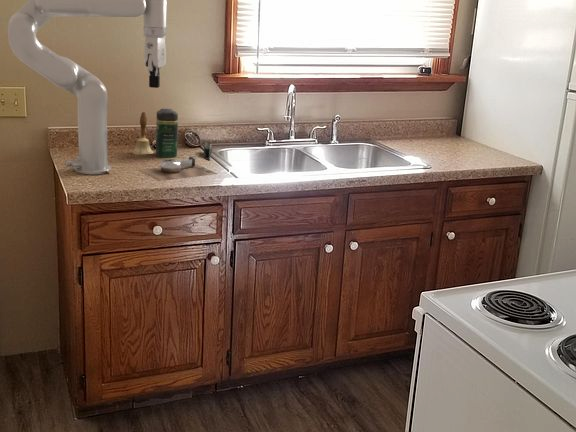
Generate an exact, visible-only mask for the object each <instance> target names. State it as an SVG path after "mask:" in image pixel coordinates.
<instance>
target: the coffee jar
mask: <svg viewBox="0 0 576 432" xmlns="http://www.w3.org/2000/svg"><path fill="white" fill-rule="evenodd" d="M178 115H179V114H178V112H176V111H175V110H173V109H172V108H161V109H159V110H157V112H156V125H155V126H156V131H155V132H156V134H155V135H156V136H155V137H156V139H155V141H156V143H155V155H156V157H158V158H161V159H163V158H164V159H168V158H169V159H174V158H177V157H178V133H179V130H178V128H179V120H178V119H179V118H178V117H179V116H178Z"/></svg>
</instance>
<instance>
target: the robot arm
mask: <svg viewBox="0 0 576 432" xmlns="http://www.w3.org/2000/svg"><path fill="white" fill-rule="evenodd" d="M141 16H143V20H142V21H143V27H142V29H143V33H142V35H143V37H144V38H145V40H144V53H143V54H144V55H143V57H144V58H143V60H144V62H143V63H144V66H145V67H147V71H148V86H149V88H153V89H154V88H155V89H158V88H160V86H161V85H160V82H161V81H160V75H161V68H163V67H165V66H166V65H167V52H166V51H167V50H166V49H167V46H166V38H167V0H28V1H27V2H25V3H24V4H23V5H22V6H21V7H20V8H19V9H18V10H17V11H16V12H14V13H13V14H12V15H11V17H10V19H9V21H8V26H7V27H8V28H7V35H8V36H7V38H8V44H9V47H10V49H11V51H12V53H13V55H14V56H16V58H17V59H18V60H19V61H20V62H21V63H23V64H24V65H25V66H27V67H29V68H31V69H32V70H33V71H34V72H36V73H37V74H38V75H40V76H42V77H43V78H45V79H46V80H47V81H49V82H51V83H52V84H53V85H55V86H56V87H57V88H61V89H64V90H65V91H67V92H69V93H70V94H73V96H75V97H76V98H77V133H78V135H77V136H78V141H77V142H78V156H76V157H75V159H74V160H65V161H64V165H65V167H71V168H74V171H75V173H78V174H84V175H105V174H108V173H109V172H110V171H109V170H111V169H112V168H113V167H112V165H111V164H108V90H107V87H106V86H105V84H104V83H103V81H101V80H100V79H99V78H98V76H96V75H94V74H93V73H91V72H90V71H88V70H86V69H85V68H84V67H83V66H80V64H77V63H76V62H75V61H73V60H72V59H70V58H69V57H66V56H61V55H59V54H57V53H55V51H53V50H51V49H50V48H49V47H47V46H45V45H44V44H43V43H41V42H40V41H39V39H38V38H37V33H38V31H39V30H40V29H41V28H42V27H43V26H44V25H45V24H46V23H48V21H49V20H50V19H51V18H52V17H75V18H76V17H79V18H80V17H81V18H82V17H83V18H87V17H88V18H100V17H104V18H105V17H107V18H108V17H110V18H111V17H113V18H115V17H116V18H137V17H141Z"/></svg>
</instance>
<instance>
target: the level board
mask: <svg viewBox="0 0 576 432" xmlns="http://www.w3.org/2000/svg"><path fill="white" fill-rule="evenodd" d="M138 171H139V172H141V173H143V174H146V175H147V176H149V177H151V178H152V179H155V180H157V181H158V182H161V181H170V180H177V179H186V178H187V179H188V178H195V177H203V176H212V175H219V173H217V172H215V171H212V170H211V169H209V168H206V167H204V166H202V165H201V164H198V163H195V166H189V167H183V168H181V171H179V172H164V171H161V167H153V168H145V169H138Z"/></svg>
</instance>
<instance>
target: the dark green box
mask: <svg viewBox="0 0 576 432" xmlns="http://www.w3.org/2000/svg"><path fill="white" fill-rule="evenodd" d="M203 143H204V145H203V158H204V159H205V160H208V162H209V161H211V157H212V149H213V148H212V143H211V142H209V141H205V142H203Z"/></svg>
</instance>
